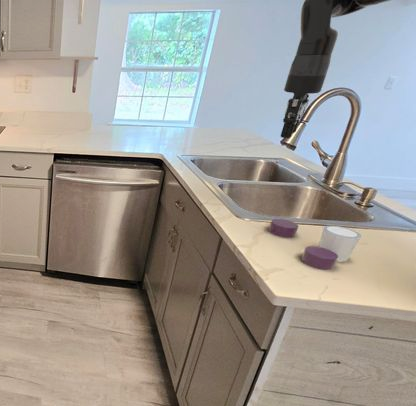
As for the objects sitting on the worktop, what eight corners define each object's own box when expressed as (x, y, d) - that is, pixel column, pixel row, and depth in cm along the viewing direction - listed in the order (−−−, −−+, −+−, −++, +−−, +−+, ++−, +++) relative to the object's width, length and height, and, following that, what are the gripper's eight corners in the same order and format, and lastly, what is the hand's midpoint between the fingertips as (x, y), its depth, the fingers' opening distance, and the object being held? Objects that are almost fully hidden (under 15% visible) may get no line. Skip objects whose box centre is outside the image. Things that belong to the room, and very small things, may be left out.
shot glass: (344, 266, 88) (356, 240, 85) (309, 254, 93) (318, 229, 90) (354, 257, 91) (365, 232, 88) (319, 246, 96) (329, 222, 93)
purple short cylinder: (330, 260, 90) (334, 249, 89) (336, 272, 85) (341, 261, 84) (299, 254, 93) (302, 244, 92) (303, 265, 88) (308, 255, 87)
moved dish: (293, 230, 104) (296, 221, 103) (297, 239, 100) (300, 229, 98) (267, 226, 107) (270, 217, 106) (269, 234, 102) (273, 225, 101)
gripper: (323, 75, 88) (301, 141, 94) (329, 71, 97) (308, 132, 103) (284, 74, 93) (266, 137, 99) (293, 71, 102) (275, 128, 108)
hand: (287, 134), depth 101 cm, fingers open, 8 cm apart
